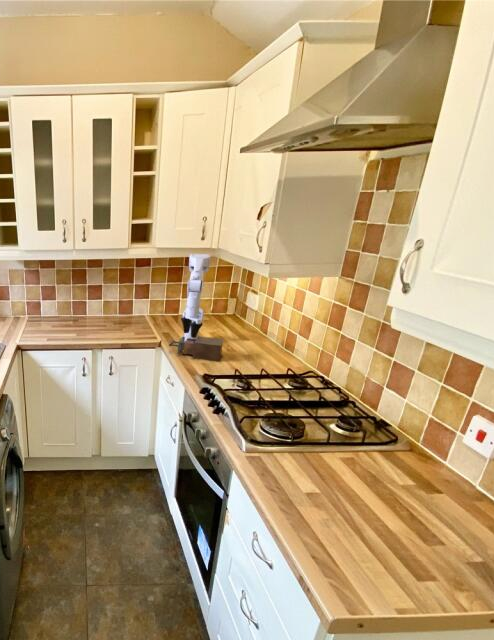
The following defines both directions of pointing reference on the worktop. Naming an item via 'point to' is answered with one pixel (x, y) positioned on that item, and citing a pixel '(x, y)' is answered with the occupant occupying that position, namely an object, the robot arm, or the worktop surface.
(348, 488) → the worktop surface
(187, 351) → the drawer
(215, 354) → the cabinet
